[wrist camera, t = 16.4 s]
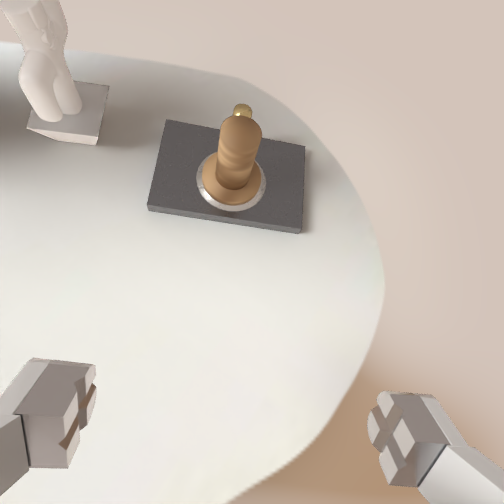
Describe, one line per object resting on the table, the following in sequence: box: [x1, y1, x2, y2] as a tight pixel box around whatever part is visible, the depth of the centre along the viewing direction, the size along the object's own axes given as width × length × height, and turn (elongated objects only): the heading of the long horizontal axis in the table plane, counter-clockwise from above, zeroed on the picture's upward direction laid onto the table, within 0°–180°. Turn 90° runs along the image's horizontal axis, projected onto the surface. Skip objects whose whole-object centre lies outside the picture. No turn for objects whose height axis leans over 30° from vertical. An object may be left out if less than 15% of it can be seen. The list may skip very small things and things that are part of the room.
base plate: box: [147, 119, 305, 234], centre depth 40 cm, size 18×12×2 cm, turn 85°
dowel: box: [233, 104, 252, 118], centre depth 38 cm, size 2×2×6 cm
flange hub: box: [202, 115, 262, 206], centre depth 35 cm, size 7×7×8 cm
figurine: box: [0, 0, 109, 145], centre depth 32 cm, size 7×9×15 cm
